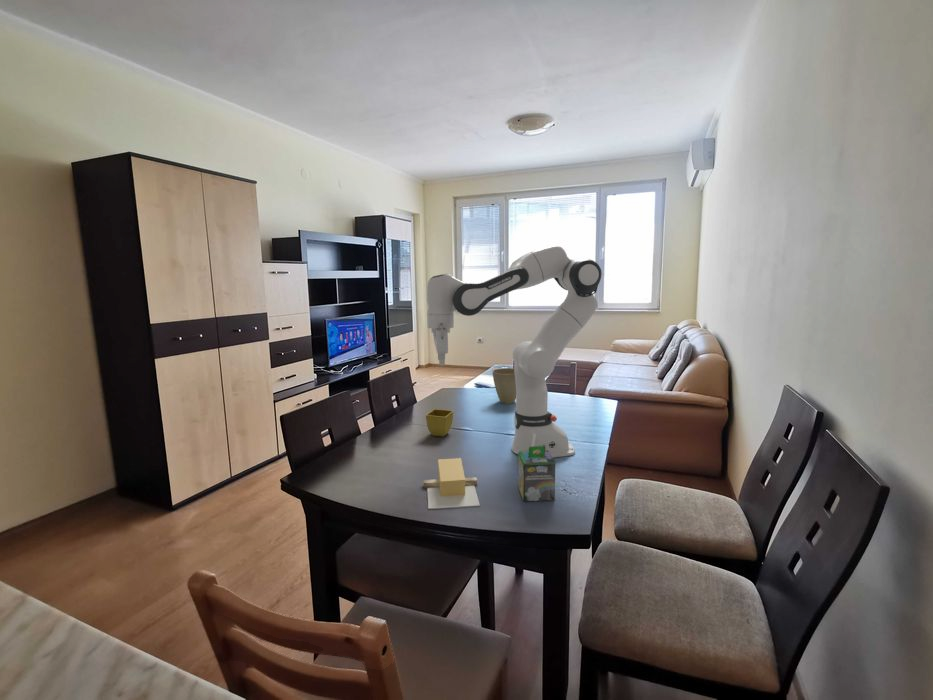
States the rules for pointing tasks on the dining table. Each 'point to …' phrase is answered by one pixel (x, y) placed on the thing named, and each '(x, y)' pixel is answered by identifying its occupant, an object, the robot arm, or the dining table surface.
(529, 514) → the dining table surface
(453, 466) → the ochre block
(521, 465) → the chalk box
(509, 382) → the plant pot
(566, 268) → the robot arm
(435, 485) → the beech kerb
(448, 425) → the flower pot
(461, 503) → the felt mat
